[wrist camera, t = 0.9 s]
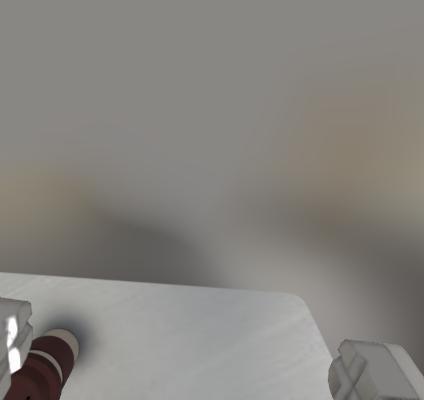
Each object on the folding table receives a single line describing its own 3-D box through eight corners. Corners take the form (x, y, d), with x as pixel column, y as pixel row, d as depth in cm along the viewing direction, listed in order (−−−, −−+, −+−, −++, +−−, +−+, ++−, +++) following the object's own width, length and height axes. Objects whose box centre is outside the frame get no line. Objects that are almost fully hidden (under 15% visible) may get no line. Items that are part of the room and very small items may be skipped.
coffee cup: (17, 340, 57) (-43, 391, 42) (68, 309, 57) (26, 347, 42) (48, 388, 57) (0, 455, 42) (98, 356, 58) (68, 411, 43)
